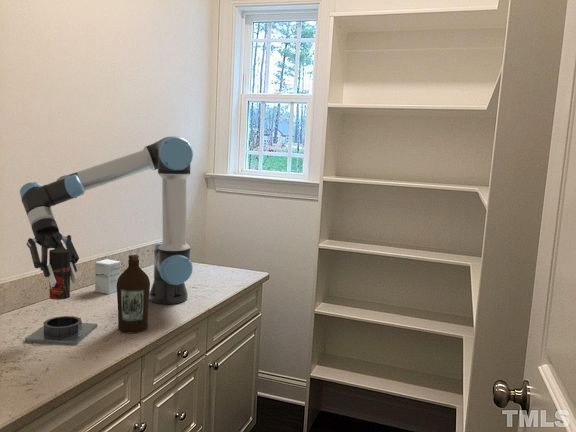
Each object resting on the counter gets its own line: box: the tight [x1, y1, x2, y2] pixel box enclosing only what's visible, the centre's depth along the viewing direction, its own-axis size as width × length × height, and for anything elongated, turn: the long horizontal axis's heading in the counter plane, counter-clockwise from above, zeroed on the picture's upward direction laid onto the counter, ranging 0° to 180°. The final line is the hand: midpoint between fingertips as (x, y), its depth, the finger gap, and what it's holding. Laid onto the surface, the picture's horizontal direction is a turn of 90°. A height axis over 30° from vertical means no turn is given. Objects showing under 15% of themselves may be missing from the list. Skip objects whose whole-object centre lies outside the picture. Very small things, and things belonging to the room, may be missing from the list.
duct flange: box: [24, 315, 98, 346], centre depth 163 cm, size 16×16×4 cm
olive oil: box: [116, 254, 151, 334], centre depth 169 cm, size 11×11×25 cm
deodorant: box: [48, 248, 71, 301], centre depth 160 cm, size 6×6×15 cm
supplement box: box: [94, 258, 122, 295], centre depth 211 cm, size 7×7×13 cm
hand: (64, 282), depth 158 cm, fingers closed on deodorant, 6 cm apart
